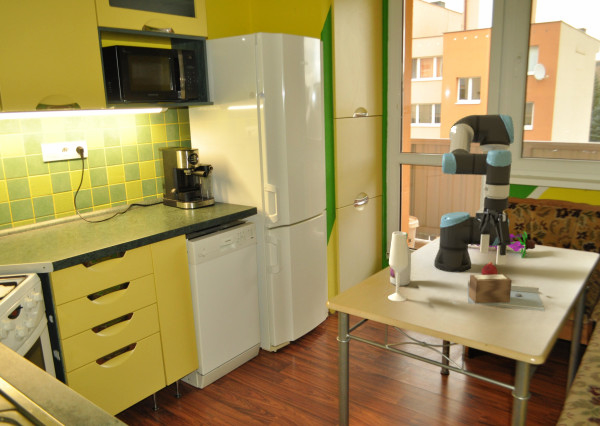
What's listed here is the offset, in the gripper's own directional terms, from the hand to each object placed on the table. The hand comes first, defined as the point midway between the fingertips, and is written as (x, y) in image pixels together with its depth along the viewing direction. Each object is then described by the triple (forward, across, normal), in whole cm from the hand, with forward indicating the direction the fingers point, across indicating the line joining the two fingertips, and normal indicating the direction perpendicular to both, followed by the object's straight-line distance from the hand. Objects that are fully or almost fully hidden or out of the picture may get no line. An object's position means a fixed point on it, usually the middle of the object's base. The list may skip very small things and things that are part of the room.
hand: (492, 258), depth 169 cm
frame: (+15, 0, 0) cm, 15 cm away
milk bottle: (+16, -22, -26) cm, 38 cm away
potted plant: (+16, -61, +27) cm, 69 cm away
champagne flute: (+16, -7, -31) cm, 35 cm away
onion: (+16, -21, +9) cm, 28 cm away
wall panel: (+16, -2, +6) cm, 17 cm away
